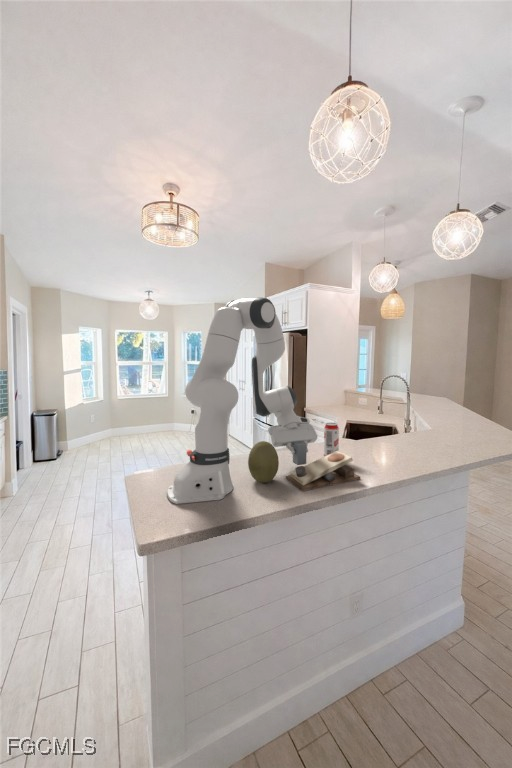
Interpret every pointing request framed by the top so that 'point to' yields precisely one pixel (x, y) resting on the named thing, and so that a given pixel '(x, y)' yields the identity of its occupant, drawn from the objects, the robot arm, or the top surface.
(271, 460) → the fruit
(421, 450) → the top surface
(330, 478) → the rocker stand
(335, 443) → the beer can
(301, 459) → the block
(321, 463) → the balance board
